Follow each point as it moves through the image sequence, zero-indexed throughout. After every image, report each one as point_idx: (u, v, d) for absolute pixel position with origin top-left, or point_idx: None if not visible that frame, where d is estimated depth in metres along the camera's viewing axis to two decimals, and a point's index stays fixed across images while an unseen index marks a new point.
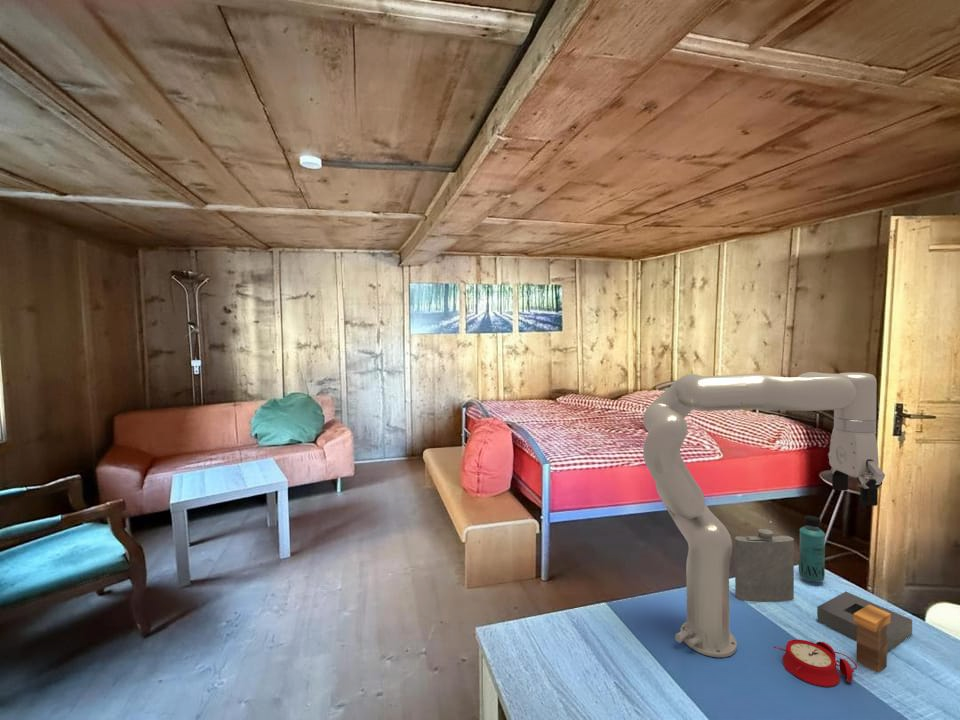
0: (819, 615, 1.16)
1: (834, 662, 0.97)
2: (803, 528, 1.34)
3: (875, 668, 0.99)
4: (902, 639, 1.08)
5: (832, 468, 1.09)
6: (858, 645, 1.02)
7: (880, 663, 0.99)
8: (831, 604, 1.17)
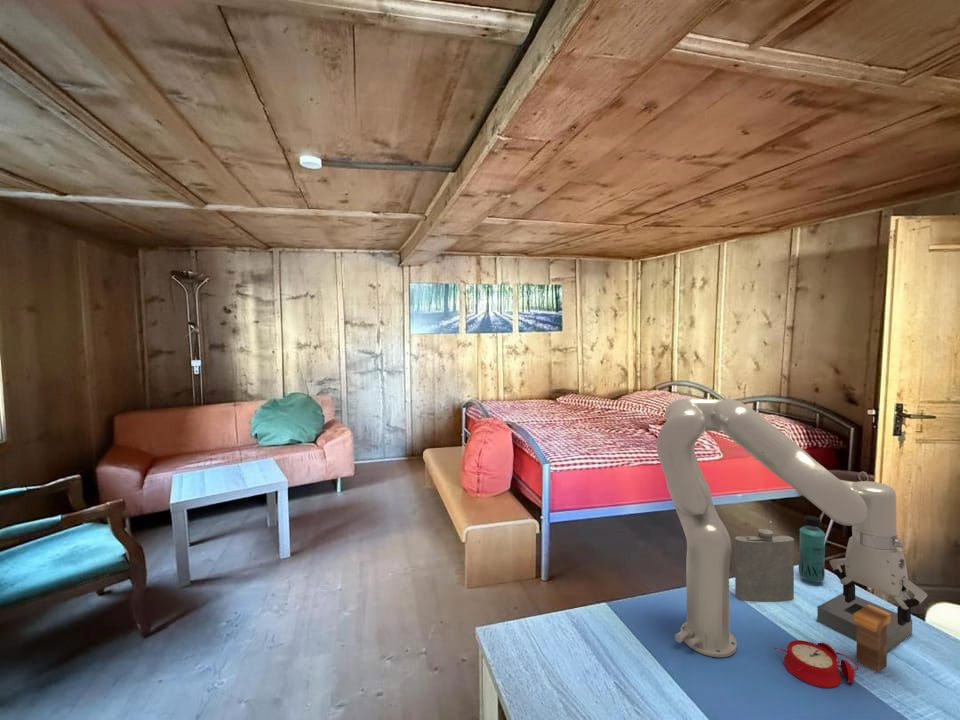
0: (819, 615, 1.16)
1: (835, 663, 0.97)
2: (803, 528, 1.34)
3: (875, 668, 0.99)
4: (902, 639, 1.08)
5: None
6: (857, 645, 1.02)
7: (880, 663, 0.99)
8: (831, 604, 1.17)
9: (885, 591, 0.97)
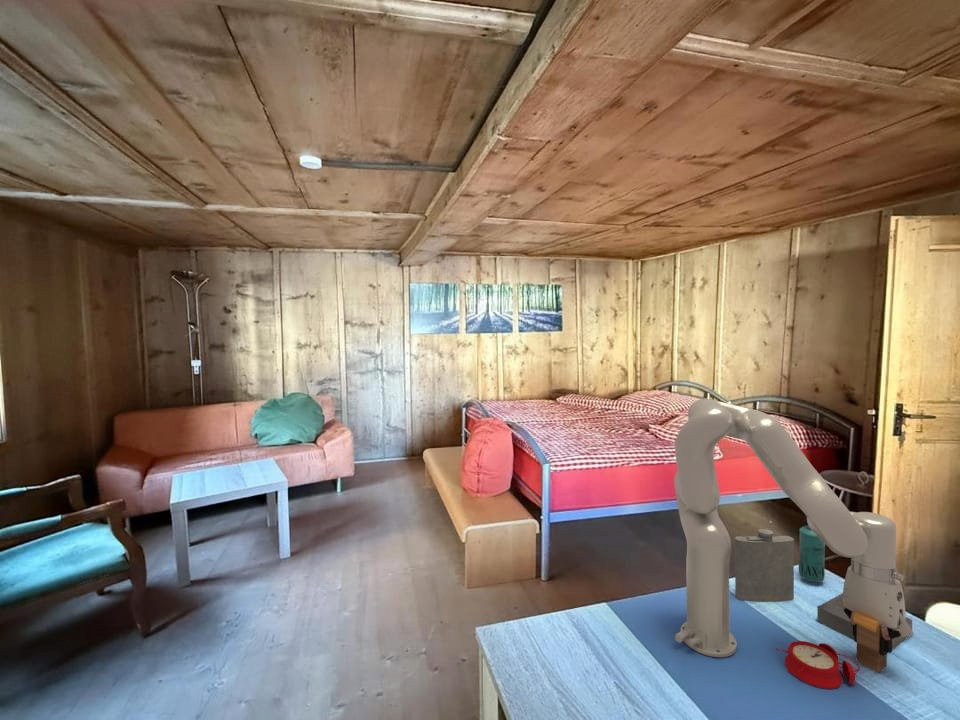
0: (819, 615, 1.16)
1: (837, 664, 0.97)
2: (803, 528, 1.34)
3: (875, 667, 0.99)
4: (902, 639, 1.08)
5: None
6: (858, 645, 1.02)
7: (880, 663, 0.99)
8: (831, 604, 1.17)
9: (882, 623, 0.97)
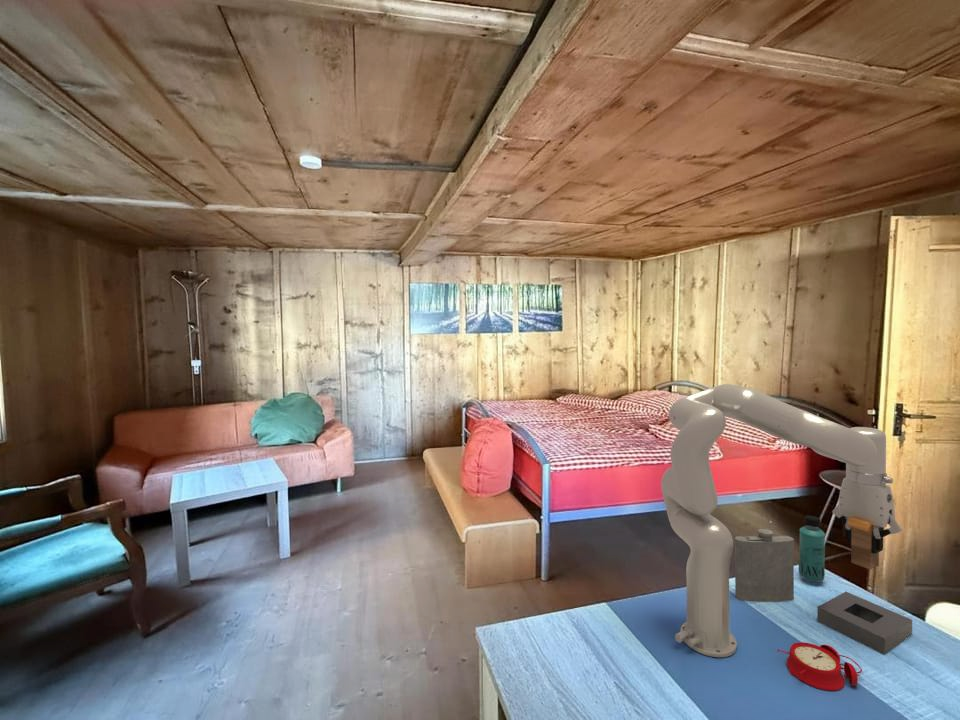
0: (819, 615, 1.16)
1: (839, 666, 0.96)
2: (803, 528, 1.34)
3: (867, 565, 1.10)
4: (902, 639, 1.08)
5: None
6: (852, 547, 1.12)
7: (873, 561, 1.10)
8: (831, 604, 1.17)
9: (874, 523, 1.08)
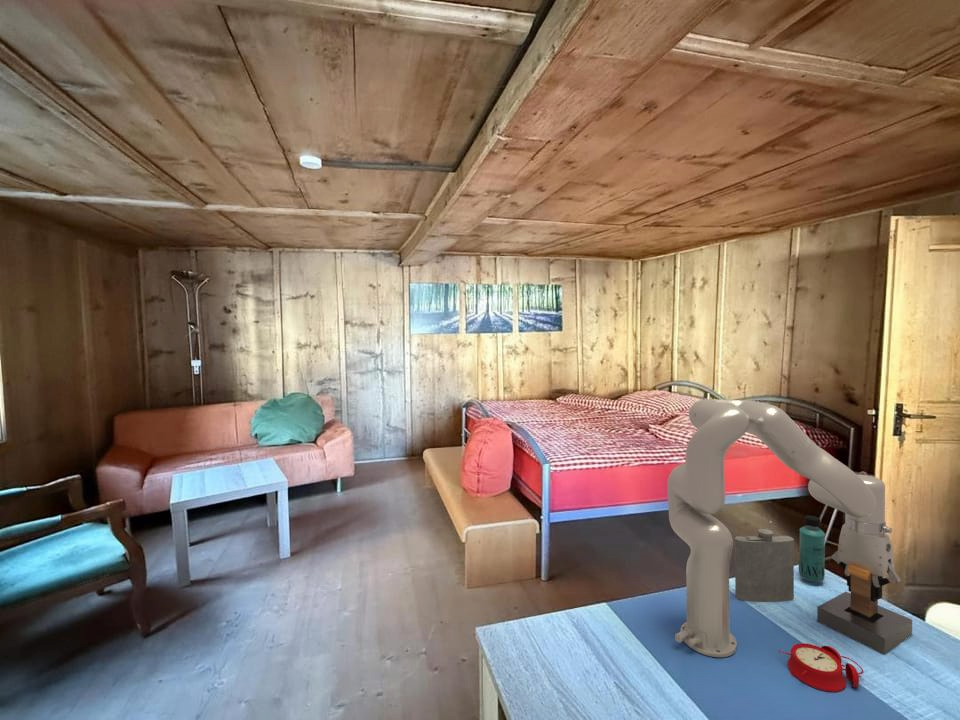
0: (819, 615, 1.16)
1: (840, 667, 0.96)
2: (803, 528, 1.34)
3: (867, 612, 1.11)
4: (902, 639, 1.08)
5: None
6: (851, 593, 1.13)
7: (872, 609, 1.11)
8: (831, 604, 1.17)
9: (873, 572, 1.09)
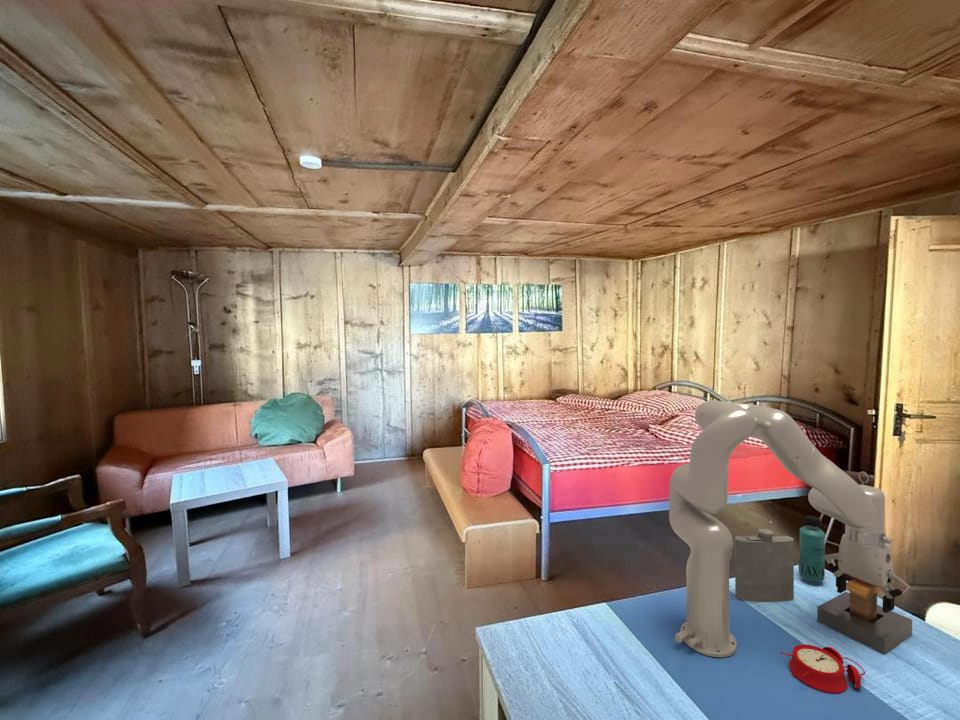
0: (819, 615, 1.16)
1: (842, 668, 0.96)
2: (803, 528, 1.34)
3: None
4: (902, 639, 1.08)
5: (894, 590, 1.08)
6: (850, 611, 1.14)
7: None
8: (831, 604, 1.17)
9: (873, 582, 1.09)
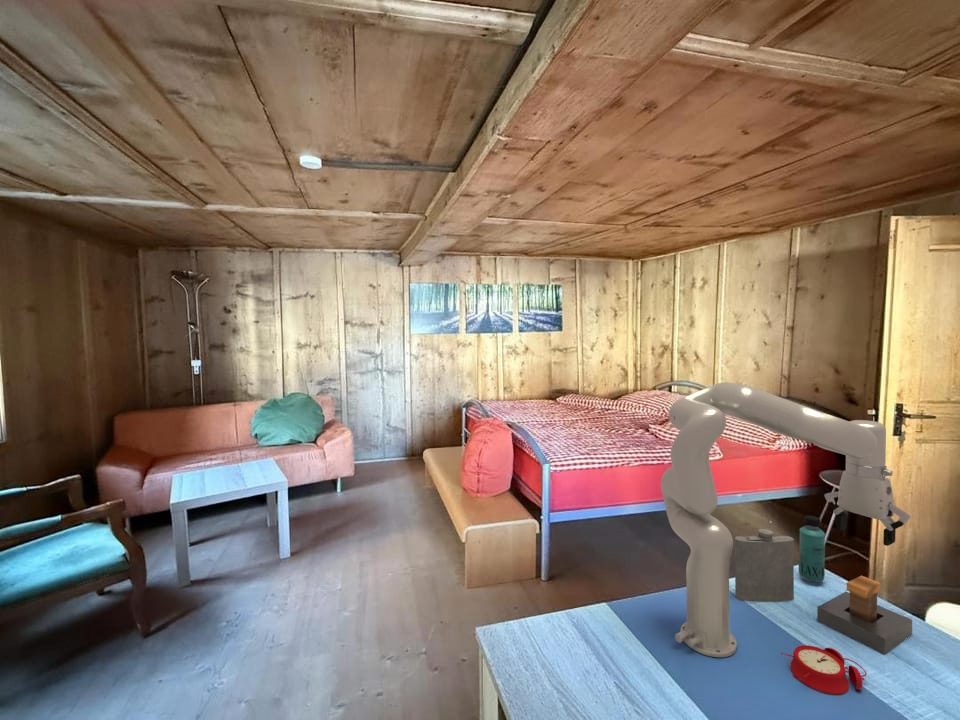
0: (819, 615, 1.16)
1: (843, 669, 0.95)
2: (803, 528, 1.34)
3: None
4: (902, 639, 1.08)
5: (895, 523, 1.07)
6: (850, 611, 1.14)
7: None
8: (831, 604, 1.17)
9: (873, 516, 1.08)
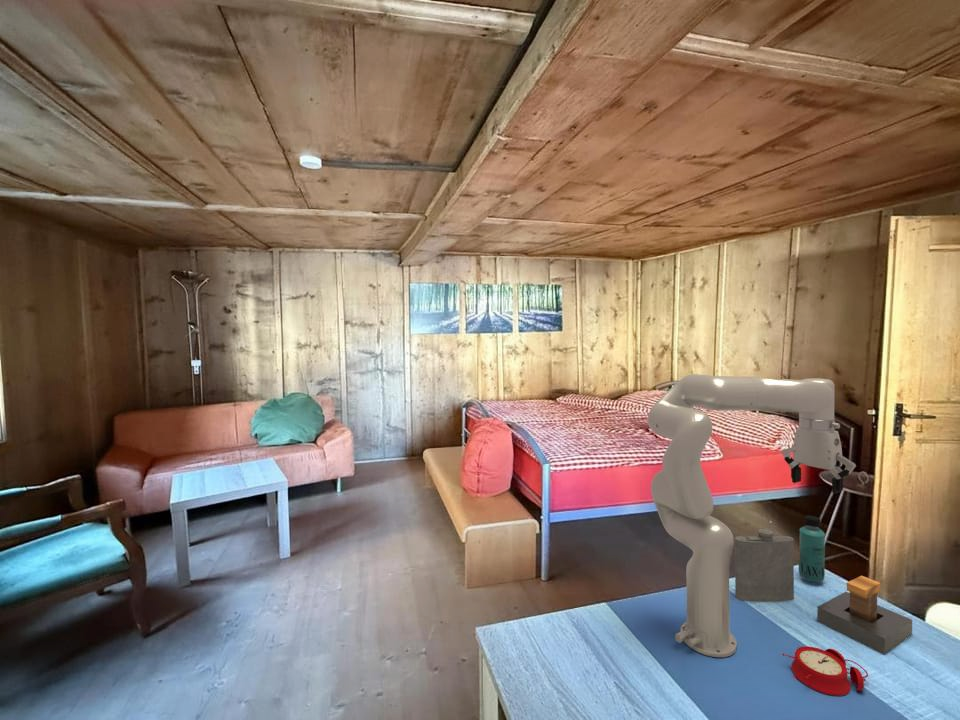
0: (819, 615, 1.16)
1: (845, 670, 0.95)
2: (803, 528, 1.34)
3: None
4: (902, 639, 1.08)
5: None
6: (850, 611, 1.14)
7: None
8: (831, 604, 1.17)
9: (823, 466, 1.16)
